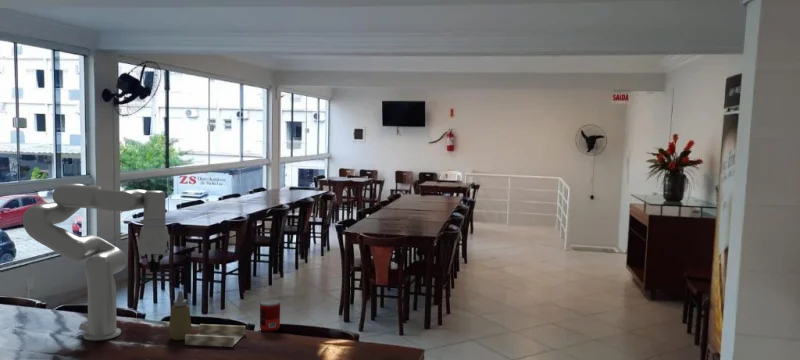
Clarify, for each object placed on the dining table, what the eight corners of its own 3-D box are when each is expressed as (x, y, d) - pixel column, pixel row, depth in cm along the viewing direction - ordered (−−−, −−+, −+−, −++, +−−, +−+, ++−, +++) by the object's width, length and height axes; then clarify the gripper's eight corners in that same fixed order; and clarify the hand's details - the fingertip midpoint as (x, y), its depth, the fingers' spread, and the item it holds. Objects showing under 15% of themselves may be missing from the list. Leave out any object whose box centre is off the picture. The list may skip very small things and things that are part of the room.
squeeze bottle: (183, 342, 202) (183, 294, 201) (164, 340, 204) (164, 293, 203) (195, 335, 210) (196, 289, 209) (177, 333, 212) (177, 287, 211)
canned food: (283, 327, 223) (283, 300, 222) (272, 333, 215) (273, 305, 215) (267, 324, 225) (267, 298, 225) (256, 330, 218) (256, 303, 217)
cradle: (185, 344, 200) (185, 335, 200) (200, 332, 213) (200, 323, 213) (233, 346, 199) (233, 337, 199) (245, 334, 212) (245, 325, 212)
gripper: (129, 224, 202) (129, 273, 203) (169, 225, 201) (169, 274, 202) (140, 221, 210) (140, 268, 211) (178, 222, 209) (178, 270, 210)
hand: (154, 271), depth 206 cm, fingers closed
